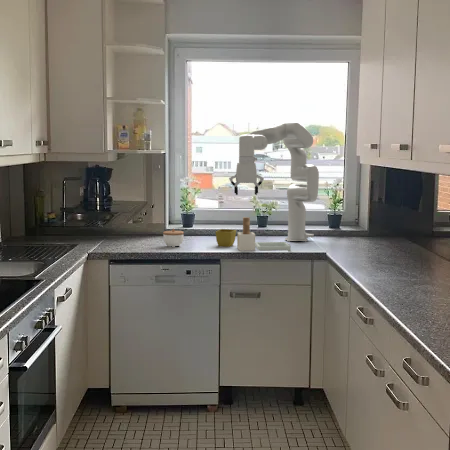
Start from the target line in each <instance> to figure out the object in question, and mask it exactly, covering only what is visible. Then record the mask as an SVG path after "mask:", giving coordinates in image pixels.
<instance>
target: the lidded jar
mask: <svg viewBox="0 0 450 450" xmlns="http://www.w3.org/2000/svg"><path fill="white" fill-rule="evenodd" d="M184 233H185V232H184V231H182V230H175V228H172V230H165V231H163V232H162V235H163V241H164V244H165V245H166V246H167V247H168V246H172V247H171V248H176V247H175V246H179V247H180V246H181V245H182V244H183V241H184Z"/></svg>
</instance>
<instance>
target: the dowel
mask: <svg viewBox="0 0 450 450" xmlns="http://www.w3.org/2000/svg"><path fill="white" fill-rule="evenodd" d="M250 219H251V217H248V216H243V217H242V232H243V234H250V232H251V231H250V227H251V220H250Z"/></svg>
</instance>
